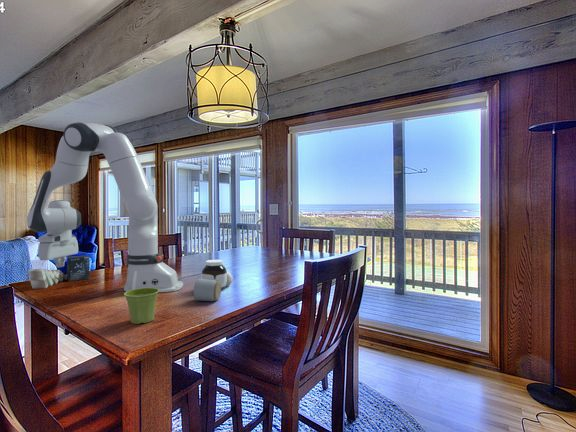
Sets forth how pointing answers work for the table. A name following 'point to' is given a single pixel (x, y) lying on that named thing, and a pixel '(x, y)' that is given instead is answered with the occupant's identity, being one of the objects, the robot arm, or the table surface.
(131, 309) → the plant pot
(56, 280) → the domino
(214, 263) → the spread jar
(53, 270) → the domino
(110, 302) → the table surface
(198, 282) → the ceramic mug
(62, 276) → the end domino
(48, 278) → the domino
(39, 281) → the domino
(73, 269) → the box
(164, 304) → the table surface
